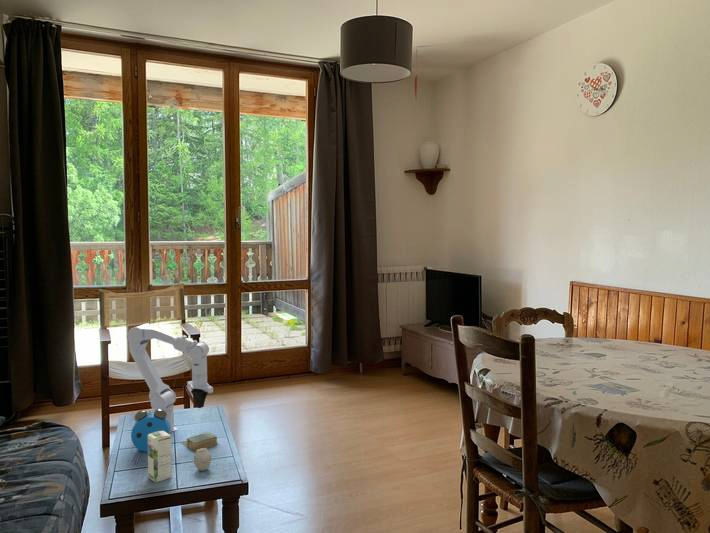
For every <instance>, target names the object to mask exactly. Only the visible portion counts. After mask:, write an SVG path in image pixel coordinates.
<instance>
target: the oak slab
mask: <svg viewBox="0 0 710 533" xmlns="http://www.w3.org/2000/svg"><path fill="white" fill-rule="evenodd" d="M186 441H187V446H188V447H189V448H191V449H192V450H194V451H195V450H198V449H201V448H206V447H209V446H213V445H216V444H217V443H218V437H217V435H215V434H213V433H212V432H210V431H208V432H204V433H200V434H196V435H192V436H190V437H186ZM216 446H217V445H216ZM213 447H214V446H213ZM209 448H210V447H209Z"/></svg>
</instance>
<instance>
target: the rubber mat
mask: <svg viewBox="0 0 710 533" xmlns="http://www.w3.org/2000/svg"><path fill="white" fill-rule="evenodd" d="M180 444H181V445H183V446H184V447H185V448H187V449H188V450H190V451H191V452H192V453H196V451H197V450H195V451H194V450H192V449H191V448H189V447H188V446H187V440H185V441H180ZM219 445H220V443H218V442H217V444H216V445H213V446H209V447H206V448H207V449H210V448H211V447H216V446H219Z"/></svg>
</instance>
